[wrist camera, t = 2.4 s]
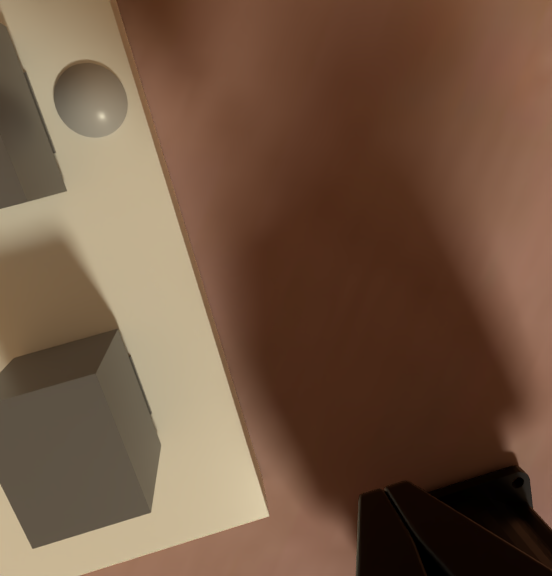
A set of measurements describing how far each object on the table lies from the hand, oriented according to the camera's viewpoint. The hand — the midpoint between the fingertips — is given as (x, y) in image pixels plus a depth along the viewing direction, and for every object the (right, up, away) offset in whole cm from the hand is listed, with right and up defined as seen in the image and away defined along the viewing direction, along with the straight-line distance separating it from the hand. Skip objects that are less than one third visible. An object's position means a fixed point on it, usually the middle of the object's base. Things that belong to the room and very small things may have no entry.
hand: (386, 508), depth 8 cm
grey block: (-7, 0, +6) cm, 10 cm away
